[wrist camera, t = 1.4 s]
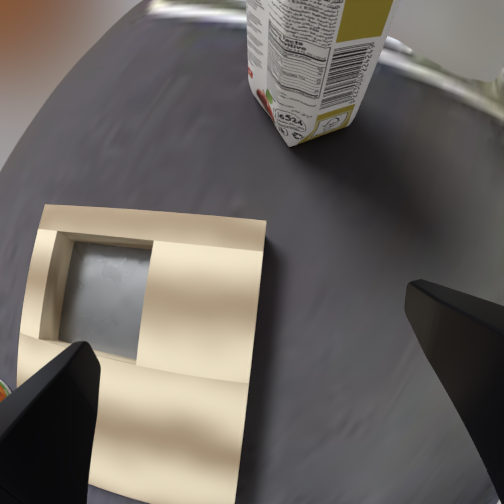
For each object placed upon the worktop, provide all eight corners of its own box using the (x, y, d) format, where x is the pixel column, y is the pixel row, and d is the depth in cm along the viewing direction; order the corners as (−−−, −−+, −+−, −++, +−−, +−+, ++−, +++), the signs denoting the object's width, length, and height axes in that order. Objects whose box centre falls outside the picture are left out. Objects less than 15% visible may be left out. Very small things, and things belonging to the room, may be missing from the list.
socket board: (235, 499, 18) (232, 518, 15) (39, 443, 19) (19, 451, 16) (265, 235, 23) (266, 220, 20) (63, 217, 24) (45, 204, 21)
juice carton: (285, 160, 25) (319, -79, 6) (240, 90, 27) (228, -106, 8) (361, 132, 26) (442, -60, 7) (310, 69, 28) (339, -105, 9)
